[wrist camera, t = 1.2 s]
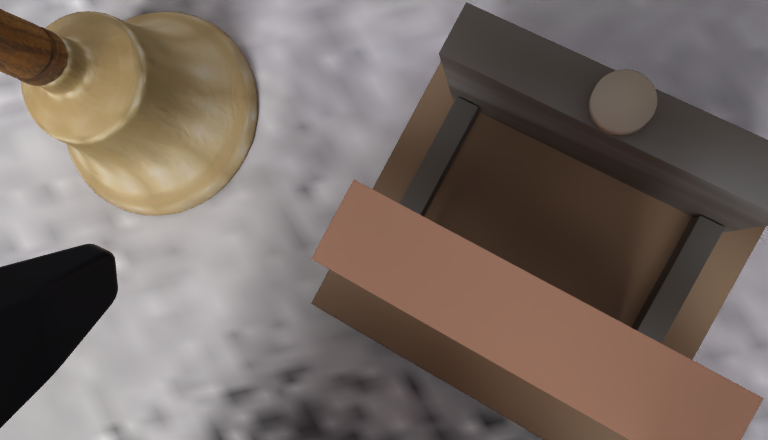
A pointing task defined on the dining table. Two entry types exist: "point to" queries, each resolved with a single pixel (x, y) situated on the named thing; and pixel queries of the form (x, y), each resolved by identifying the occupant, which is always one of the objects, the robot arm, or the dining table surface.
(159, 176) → the hand bell
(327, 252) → the reddish brown rectangular bar
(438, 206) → the switch base
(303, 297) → the dining table surface
